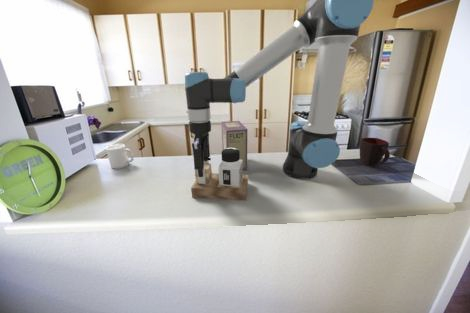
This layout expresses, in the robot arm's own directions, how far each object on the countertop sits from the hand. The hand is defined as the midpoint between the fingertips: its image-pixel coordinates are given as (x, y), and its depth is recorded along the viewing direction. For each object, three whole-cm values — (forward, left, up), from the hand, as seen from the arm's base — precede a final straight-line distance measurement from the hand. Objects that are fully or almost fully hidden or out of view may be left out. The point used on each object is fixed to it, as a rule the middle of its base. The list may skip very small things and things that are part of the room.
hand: (204, 179), depth 78 cm
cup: (+47, -18, -5) cm, 51 cm away
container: (-11, 0, 0) cm, 11 cm away
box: (-9, -24, -5) cm, 26 cm away
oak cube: (0, 0, 0) cm, 0 cm away
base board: (-7, 0, -4) cm, 8 cm away
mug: (-75, -28, -5) cm, 80 cm away
